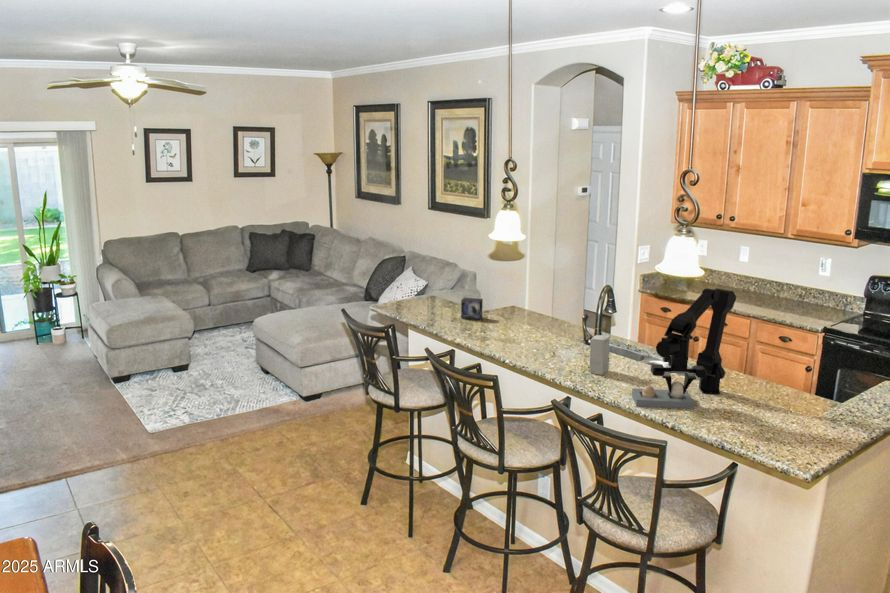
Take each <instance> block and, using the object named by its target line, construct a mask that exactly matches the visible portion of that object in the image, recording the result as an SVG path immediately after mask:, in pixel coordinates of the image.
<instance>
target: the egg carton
mask: <svg viewBox="0 0 890 593" xmlns="http://www.w3.org/2000/svg"><path fill="white" fill-rule="evenodd" d="M631 396H632V399H633V401H634V404H635V407H642V408H643V407H644V408H661V409H662V408H664V409H685V410H695V401H694V400H693V398H692V397H691V394H690V393H689V391H688V390H686V392H685V394H683V398H681V399H676V398H672V397H671V396H670V393H669V389H655V388H654V387H653V386H652V385H646V386H644V387H643V388H636V387H635V388H632V389H631Z"/></svg>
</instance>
